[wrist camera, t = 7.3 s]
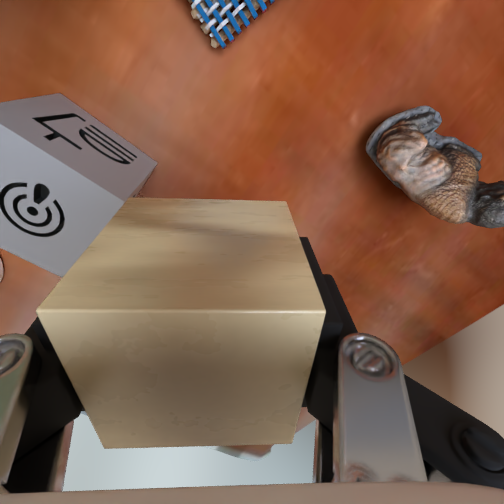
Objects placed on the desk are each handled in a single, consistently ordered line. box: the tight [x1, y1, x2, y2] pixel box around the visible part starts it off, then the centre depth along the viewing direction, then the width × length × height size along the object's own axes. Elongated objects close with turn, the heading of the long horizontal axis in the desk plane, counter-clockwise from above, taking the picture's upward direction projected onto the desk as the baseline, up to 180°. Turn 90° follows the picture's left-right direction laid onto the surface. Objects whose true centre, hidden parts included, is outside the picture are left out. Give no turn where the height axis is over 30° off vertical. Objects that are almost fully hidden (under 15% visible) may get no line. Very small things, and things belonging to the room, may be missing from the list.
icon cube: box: [0, 93, 158, 278], centre depth 26 cm, size 10×10×10 cm
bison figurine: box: [366, 106, 504, 228], centre depth 26 cm, size 12×7×10 cm, turn 60°
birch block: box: [36, 197, 326, 449], centre depth 8 cm, size 5×5×5 cm
